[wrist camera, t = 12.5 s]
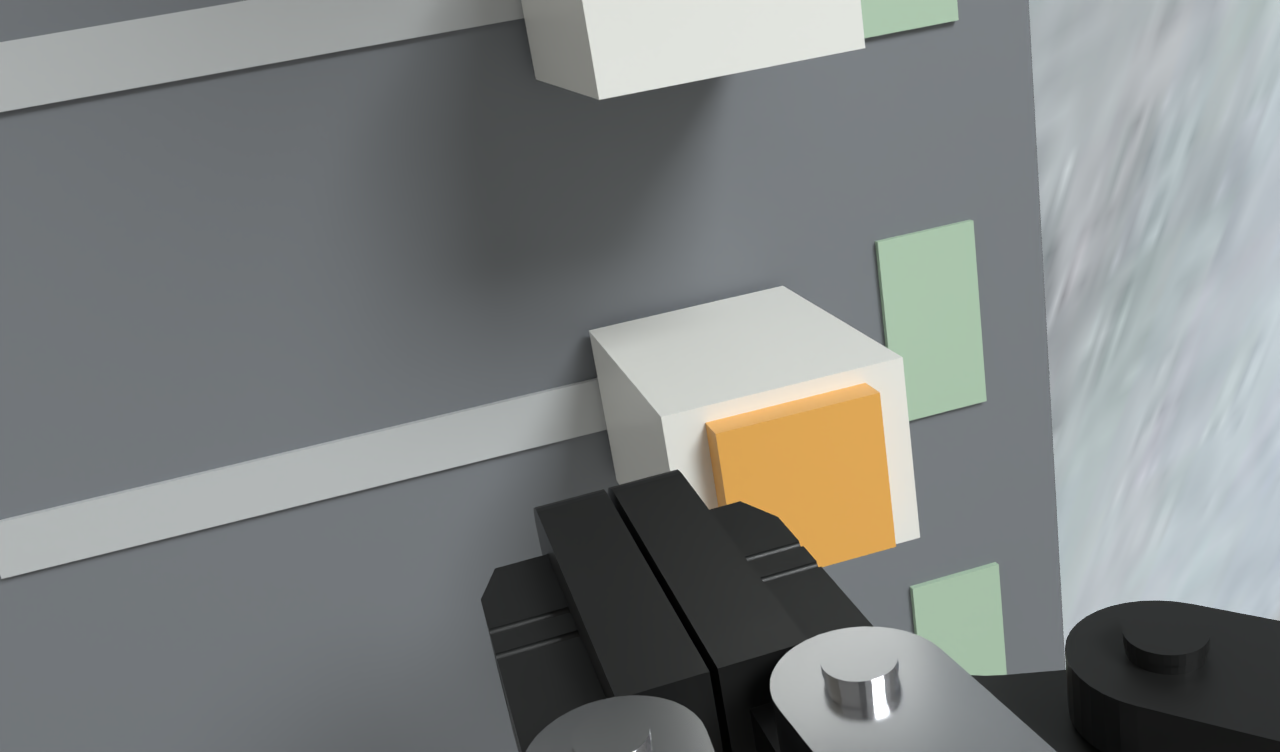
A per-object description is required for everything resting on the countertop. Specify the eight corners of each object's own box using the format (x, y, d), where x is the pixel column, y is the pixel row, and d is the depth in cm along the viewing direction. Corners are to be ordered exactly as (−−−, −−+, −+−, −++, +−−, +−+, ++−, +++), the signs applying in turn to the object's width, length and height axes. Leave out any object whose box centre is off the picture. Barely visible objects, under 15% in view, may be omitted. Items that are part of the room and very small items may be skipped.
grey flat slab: (-508, -86, 16) (-696, -107, 13) (910, -285, 19) (1014, -337, 16) (-33, 986, 21) (-87, 1137, 19) (987, 676, 25) (1073, 763, 22)
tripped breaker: (588, 330, 17) (670, 428, 13) (782, 285, 18) (918, 366, 14) (616, 480, 18) (701, 615, 14) (801, 433, 19) (935, 551, 15)
